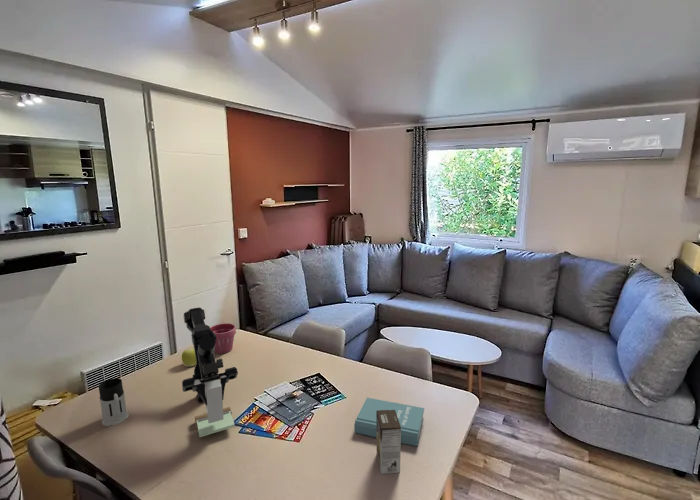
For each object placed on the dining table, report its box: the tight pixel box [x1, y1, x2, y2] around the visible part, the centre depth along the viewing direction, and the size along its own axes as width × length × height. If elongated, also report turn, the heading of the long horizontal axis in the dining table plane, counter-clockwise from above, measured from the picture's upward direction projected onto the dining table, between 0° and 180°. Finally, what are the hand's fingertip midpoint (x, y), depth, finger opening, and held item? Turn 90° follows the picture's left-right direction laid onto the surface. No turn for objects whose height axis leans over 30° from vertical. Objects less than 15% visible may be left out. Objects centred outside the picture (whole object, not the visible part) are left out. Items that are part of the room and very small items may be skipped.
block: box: [205, 379, 224, 423], centre depth 131 cm, size 5×5×13 cm
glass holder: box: [98, 377, 129, 427], centre depth 140 cm, size 9×14×15 cm, turn 44°
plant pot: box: [209, 322, 237, 355], centre depth 199 cm, size 14×14×13 cm
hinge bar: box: [194, 406, 233, 429], centre depth 141 cm, size 4×13×2 cm, turn 118°
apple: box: [181, 348, 196, 368], centre depth 184 cm, size 8×8×10 cm
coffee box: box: [376, 410, 402, 475], centre depth 117 cm, size 9×6×16 cm
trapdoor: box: [197, 411, 236, 438], centre depth 134 cm, size 9×12×1 cm
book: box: [353, 397, 425, 447], centre depth 136 cm, size 23×16×5 cm
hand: (214, 402), depth 130 cm, fingers closed on block, 5 cm apart
